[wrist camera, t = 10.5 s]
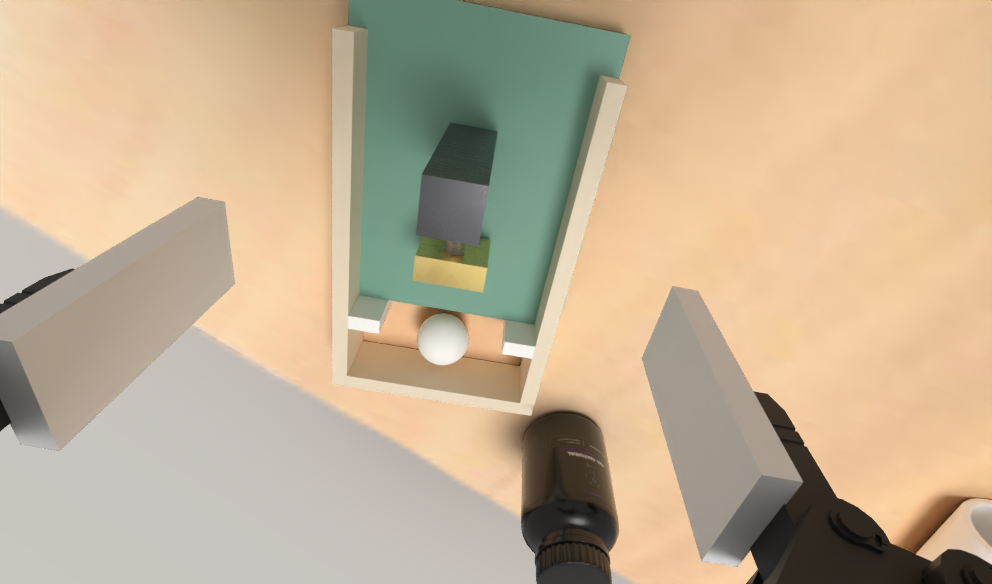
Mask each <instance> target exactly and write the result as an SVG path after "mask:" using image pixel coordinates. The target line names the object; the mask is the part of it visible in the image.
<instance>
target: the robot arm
mask: <svg viewBox="0 0 992 584" xmlns="http://www.w3.org/2000/svg"><path fill="white" fill-rule="evenodd" d="M234 284H235V281H234V273H233V264H232V256H231V248H230V240H229V232H228V224H227V216H226V208H225V202H223V201H217V200H212V199H207V198H201V197H197V198H195V199H193V200H192V201H190V202H188V203H187V204H185V205H183V206H182V207H180V208H178V209H177V210H175V211H173V212H171V213H170V214H168V215H166V216H165V217H163V218H161V219H160V220H158V221H156V222H155V223H153V224H151V225H149V226H148V227H146V228H144V229H143V230H141V231H139V232H138V233H136V234H134V235H133V236H131V237H129V238H128V239H126V240H124V241H122V242H121V243H119V244H117V245H116V246H114V247H112V248H111V249H109V250H107V251H106V252H104V253H102V254H100V255H99V256H97V257H95V258H94V259H92V260H90V261H89V262H87V263H85V264H84V265H82V266H80V267H79V268H77V269H69V270H67V271H63V272H61V273H57V274H54V275H52V276H48V277H45V278H43V279H41V280H39V281H38V282H36V283H34V284H32V285H31V286H29V287H27V288H25V289H24V290H22V293H17V294H15V295H13V296H11V297H10V298H8V299H6V300H5V301H4V303H3V304H0V431H1V430H2V429H4V427H6V426H7V425H9V424H11V426H12V428H13V430H14V433H15V434H16V437H17V439H18V441H19V443H20V445H26V446H32V447H38V448H44V449H50V450H56V451H60V450H61V449H62V448H63V447H64V446H65V445H66V444H67V443H68V442H70V441H71V440H72V439H73V438H74V437H75V436H76V435H77V434H78V433H79V432H80V431H81V430H82V429H83V428H84V427H85V426H86V425H87V424H88V423H89V422H90V421H92V420H93V419H94V418H95V417H96V415H98V414H99V413H100V412H101V411H102V410H103V409H104V408H105V407H106V406H107V405H108V404H109V403H110V402H111V401H113V400H114V399H115V398H116V397H117V396H118V395H119V394H120V393H121V392H122V391H123V390H124V389H125V388H126V387H127V386H128V385H129V384H130V383H131V382H132V381H133V380H134V379H136V378H137V377H138V376H139V375H140V374H141V373H142V372H143V371H144V370H145V369H146V368H147V367H148V366H149V365H150V364H151V363H152V362H153V361H155V360H156V359H157V357H159V356H160V355H161V354H162V353H163V352H164V351H165V350H166V349H167V348H168V347H169V346H170V345H171V344H172V343H173V342H174V341H175V340H176V339H178V337H180V336H181V335H182V334H183V333H184V332H185V331H186V330H187V329H188V328H189V327H190V326H191V325H192V324H193V323H194V322H195V321H196V320H198V319H199V318H200V317H201V316H202V315H203V314H204V313H205V312H206V311H207V310H208V309H209V308H210V307H211V306H212V305H213V304H214V303H215V302H216V301H217V300H218V299H220V298H221V297H222V296H223V295H224V294H225V293H226V292H227V291H228V290H229V289H230V288H231V287H232V286H233V285H234ZM642 360H643V364H644V367H645V371H646V374H647V377H648V381H649V384H650V388H651V391H652V394H653V398H654V401H655V405H656V408H657V411H658V415H659V418H660V422H661V425H662V428H663V432H664V435H665V439H666V442H667V446H668V449H669V452H670V456H671V459H672V463H673V466H674V469H675V473H676V476H677V480H678V483H679V486H680V490H681V493H682V497H683V500H684V503H685V507H686V510H687V514H688V517H689V520H690V524H691V527H692V531H693V534H694V538H695V541H696V544H697V548H698V551H699V555H700V558H701V561H704V562H710V563H716V564H722V565H728V566H734V567H738V566H739V564H740V563H741V562H742V560H743V559H744V558H745V557H746V555H747V554H748V553H749V551H750V550H751V552H752V555H753V558H754V560H755V563H756V565H757V568H758V570H757V571H756V572H755V574H754V575H753V576H752V577H751V578H750V580H749V581H748V582H747V583H746V584H992V564H990V563H988V562H987V561H985V560H983V559H981V558H980V557H978V556H976V555H974V554H971V553H968V552H966V551H963V550H959V549H947V550H946V551H945V552H943V553H942V554H940V555H939V556H938V557H937V558H936V559H935V560H934V561H930V560H928V559H925V558H923V557H921V556H918V555H916V554H914V553H912V552H909V551H907V550H905V549H902V548H900V547H898V546H895V545H893V544H891V543H890V542H889V540H888V538H887V536H886V534H885V533H884V531H883V530H882V529H881V528H880V527H879V526H878V524H877V523H876V522H875V521H874V520H873V519H872V518H871V517H870V516H868V515H867V514H866V513H864V512H863V511H862V510H860V509H859V508H858V507H856V506H854V505H852V504H850V503H848V502H846V501H844V500H842V499H838V498H837V497H836V495H835V493H834V492H833V490H832V488H831V487H830V485H829V483H828V482H827V480H826V478H825V477H824V475H823V473H822V472H821V470H820V468H819V467H818V465H817V463H816V462H815V460H814V458H813V457H812V455H811V453H810V452H809V450H808V448H807V447H806V446H804V442H803V440H802V438H801V437H800V435H799V433H798V432H795V427H794V425H793V424H792V422H791V420H790V419H789V417H788V415H787V414H786V412H785V410H784V409H782V408H781V407H780V406H779V405H778V404H777V403H776V402H775V401H774V400H773V399H772V398H771V397H770V396H769V395H768V394H765V393H759V392H754V391H753V390H752V388H751V386H750V384H749V383H748V381H747V379H746V377H745V375H744V374H743V372H742V370H741V368H740V366H739V364H738V363H737V361H736V359H735V357H734V355H733V354H732V352H731V350H730V348H729V346H728V345H727V343H726V341H725V339H724V337H723V335H722V334H721V332H720V330H719V328H718V326H717V325H716V323H715V321H714V319H713V317H712V315H711V314H710V312H709V310H708V308H707V306H706V305H705V303H704V301H703V299H702V297H701V296H700V294H699V292H698V291H696V290H691V289H685V288H680V287H675V286H672V289H671V291H670V293H669V296H668V298H667V300H666V303H665V305H664V307H663V310H662V312H661V315H660V317H659V319H658V322H657V324H656V326H655V329H654V331H653V333H652V336H651V338H650V341H649V343H648V345H647V348H646V350H645V352H644V355H643V357H642Z"/></svg>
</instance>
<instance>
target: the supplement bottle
mask: <svg viewBox="0 0 992 584" xmlns="http://www.w3.org/2000/svg"><path fill="white" fill-rule="evenodd" d="M521 527H522V534H523V537H524V539H525V541H526V543H527V545H528V546H529V548H530V549H531V550H532V551H533V552H534V553H535V565H536V581H537V584H612V580H611V570H610V557H609V551H610V550H611V549H612V548H613V546H614V545H615V543H616V540H617V538H618V534H619V524H618V516H617V511H616V505H615V499H614V493H613V487H612V481H611V476H610V470H609V464H608V458H607V452H606V447H605V442H604V438H603V435H602V433H601V431H600V429H599V428H598V427H597V426H596V425H595V424H594V423H593V422H592V421H590V420H589V419H587V418H585V417H583V416H580V415H576V414H572V413H555V414H550V415H547V416H544V417H542V418H540V419H538V420H537V421H535V422H534V423H533V424H532V425H531V426H530V427H529V428H528V429H527V431H526V433H525V435H524V438H523V448H522V506H521Z"/></svg>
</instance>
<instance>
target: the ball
mask: <svg viewBox="0 0 992 584" xmlns="http://www.w3.org/2000/svg"><path fill="white" fill-rule="evenodd" d="M417 344H418V348H419V351H420V352H421V354H422V355H423V357H424V358H425V359H426V360H428V361H429V362H431V363H433V364H437V365H449V364H452V363H454V362H456V361H458V360H459V359H460V358H461V357H462V356H463V355H464V354H465V352H466V350H467V348H468V344H469V334H468V330H467V328H466V326H465V325H464V323H463V322H462V321H461V320H460V319H459V318H457V317H456V316H454V315H451V314H446V313H440V314H435V315H433V316H431V317H429V318H428V319H426V320H425V321H424V322H423V324H422V325H421V327H420V328H419V331H418V335H417Z"/></svg>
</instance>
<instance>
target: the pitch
mask: <svg viewBox="0 0 992 584" xmlns="http://www.w3.org/2000/svg"><path fill="white" fill-rule="evenodd" d="M630 37H631V36H630V35H627V34H623V33H618V32H613V31H608V30H603V29H598V28H593V27H588V26H583V25H578V24H574V23H569V22H564V21H559V20H554V19H549V18H544V17H539V16H534V15H529V14H524V13H519V12H514V11H509V10H504V9H499V8H494V7H490V6H485V5H480V4H475V3H470V2H465V1H460V0H349V15H348V26H341V27H335V28H332V385H339V386H345V387H351V388H358V389H364V390H370V391H377V392H383V393H389V394H396V395H402V396H408V397H415V398H421V399H427V400H434V401H440V402H446V403H453V404H459V405H465V406H472V407H478V408H484V409H491V410H497V411H504V412H510V413H516V414H523V415H529V416H531V415H532V411H533V408H534V404H535V401H536V398H537V394H538V391H539V387H540V384H541V381H542V377H543V374H544V370H545V367H546V363H547V360H548V357H549V353H550V350H551V346H552V343H553V340H554V336H555V333H556V329H557V326H558V323H559V319H560V316H561V312H562V309H563V305H564V302H565V299H566V295H567V292H568V288H569V285H570V282H571V278H572V275H573V271H574V268H575V264H576V261H577V258H578V254H579V251H580V247H581V244H582V241H583V237H584V234H585V230H586V227H587V224H588V220H589V217H590V213H591V210H592V206H593V203H594V200H595V196H596V193H597V189H598V186H599V183H600V179H601V176H602V172H603V169H604V166H605V162H606V159H607V155H608V152H609V148H610V145H611V142H612V138H613V135H614V131H615V128H616V125H617V121H618V118H619V114H620V111H621V108H622V104H623V101H624V97H625V94H626V90H627V87H628V86H627V85H626V84H625V83H623V82H622V81H621V80H620V79H619V76H620V72H621V69H622V65H623V61H624V58H625V54H626V51H627V47H628V44H629V40H630ZM450 122H451V123H456V124H461V125H467V126H472V127H477V128H483V129H488V130H493V131H498V133H497V140H496V146H495V152H494V158H493V164H492V171H491V177H490V183H489V189H488V195H487V201H486V206H485V212H484V218H483V224H482V229H481V235H480V239H486V240H491V242H490V251H489V259H488V268H487V273H486V278H485V284H484V289H483V293H482V292H476V291H470V290H465V289H459V288H453V287H447V286H441V285H435V284H429V283H423V282H418V281H413V271H414V261H415V255H416V252H417V250H418V247H419V245H420V242H421V240H422V236H417V235H416V228H417V218H418V208H419V198H420V187H421V177H422V173H423V171H424V169H425V167H426V165H427V164H428V162H429V160H430V158H431V156H432V155H433V153H434V151H435V149H436V147H437V146H438V144H439V142H440V140H441V138H442V137H443V135H444V133H445V131H446V129H447V128H448V126H449V124H450ZM393 301H397V302H403V303H409V304H415V305H421V306H427V307H433V308H439V309H445V310H450V311H456V312H462V313H468V314H474V315H480V316H486V317H492V318H498V319H504V321H503V342H502V354H505V355H511V356H518V357H522V360H521V364H520V366H516V365H510V364H503V363H497V362H491V361H485V360H479V359H473V358H467V357H461V358H460V359H459V360H458V361H456V362H454V363H452V364H449V365H437V364H433V363H431V362H429V361H428V360H426V359H425V358H424V357H423V355H422V354H421V352H420V351H419V350H417V349H411V348H405V347H399V346H393V345H387V344H381V343H374V342H368V341H363V331H365V332H371V333H377V334H379V333H380V330H381V328H382V325H383V323H384V321H385V318H386V316H387V313H388V311H389V309H390V306H391V304H392V302H393Z"/></svg>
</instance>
